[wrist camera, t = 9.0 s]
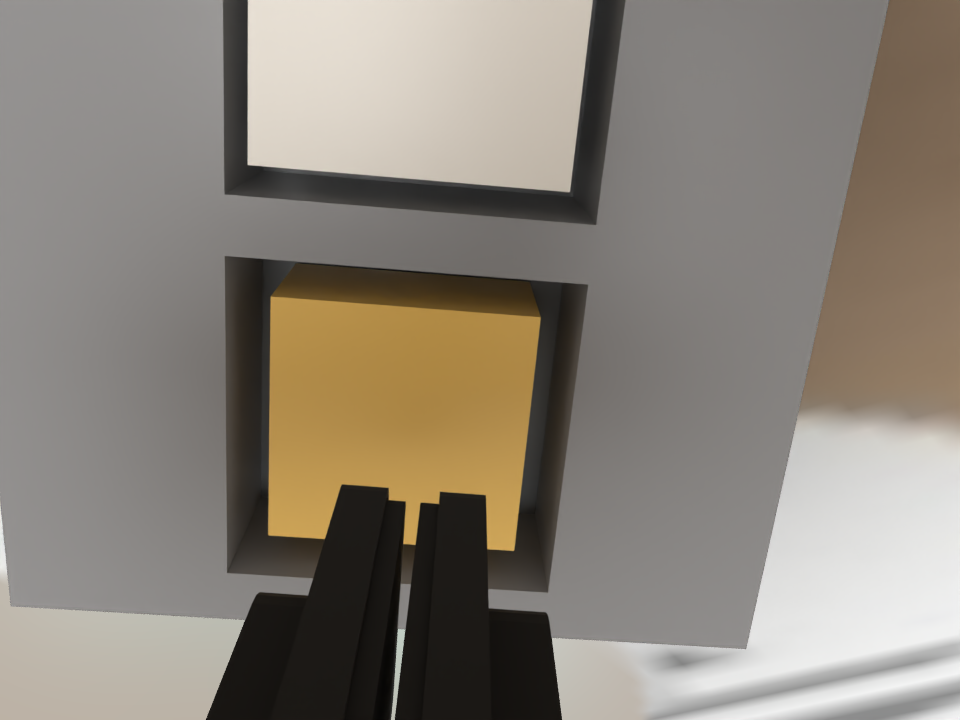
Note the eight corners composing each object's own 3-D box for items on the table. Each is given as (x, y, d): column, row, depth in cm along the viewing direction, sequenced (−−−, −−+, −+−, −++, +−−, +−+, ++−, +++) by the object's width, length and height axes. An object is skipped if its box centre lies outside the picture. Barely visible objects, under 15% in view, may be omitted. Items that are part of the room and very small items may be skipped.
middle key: (586, -132, 14) (613, -171, 11) (552, 170, 15) (569, 192, 13) (285, -164, 13) (247, -210, 11) (280, 147, 15) (247, 165, 12)
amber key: (529, 281, 18) (540, 317, 15) (506, 489, 19) (513, 551, 17) (295, 262, 17) (270, 296, 15) (291, 474, 19) (268, 535, 16)
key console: (896, -640, 15) (1101, -964, 10) (683, 521, 22) (745, 648, 17) (42, -756, 14) (-168, -1164, 9) (110, 482, 21) (10, 606, 16)
